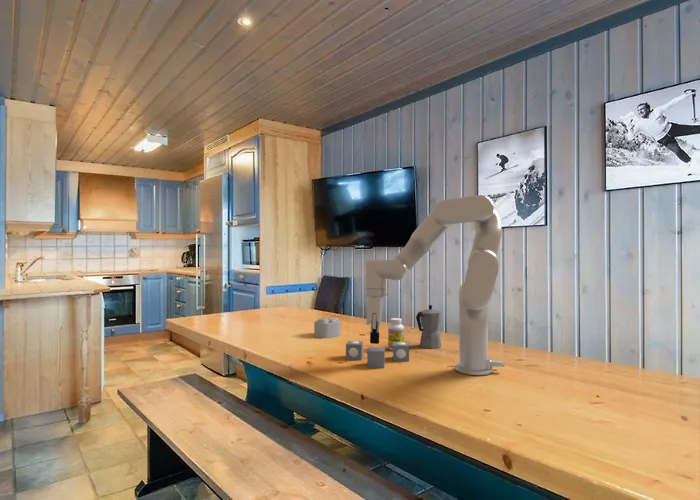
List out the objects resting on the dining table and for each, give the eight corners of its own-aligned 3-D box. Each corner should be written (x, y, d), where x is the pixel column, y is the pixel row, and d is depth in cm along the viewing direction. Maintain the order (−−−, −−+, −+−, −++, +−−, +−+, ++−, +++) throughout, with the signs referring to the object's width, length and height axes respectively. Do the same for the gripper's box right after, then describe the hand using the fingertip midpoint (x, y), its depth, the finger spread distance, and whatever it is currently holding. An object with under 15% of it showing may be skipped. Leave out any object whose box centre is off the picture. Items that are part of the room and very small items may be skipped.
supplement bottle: (385, 350, 180) (385, 319, 179) (391, 346, 185) (391, 317, 185) (400, 351, 176) (400, 320, 176) (406, 348, 182) (406, 318, 182)
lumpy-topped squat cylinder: (311, 335, 209) (311, 318, 209) (332, 332, 218) (332, 315, 218) (324, 339, 201) (324, 320, 201) (345, 335, 210) (345, 318, 210)
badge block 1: (362, 356, 169) (362, 340, 169) (361, 360, 163) (361, 344, 163) (347, 355, 170) (347, 340, 170) (345, 360, 164) (345, 343, 164)
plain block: (384, 363, 158) (384, 347, 158) (384, 368, 153) (384, 351, 153) (368, 363, 159) (368, 347, 159) (367, 367, 153) (367, 351, 153)
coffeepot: (431, 342, 194) (431, 302, 194) (448, 346, 186) (448, 304, 186) (408, 347, 184) (408, 305, 184) (425, 351, 177) (425, 307, 177)
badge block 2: (408, 357, 167) (408, 341, 167) (409, 361, 161) (409, 345, 161) (393, 357, 168) (393, 341, 168) (393, 361, 162) (393, 345, 162)
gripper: (366, 290, 164) (365, 338, 164) (363, 294, 149) (362, 347, 149) (386, 291, 163) (385, 339, 163) (385, 295, 148) (384, 348, 148)
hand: (374, 343), depth 156 cm, fingers closed
